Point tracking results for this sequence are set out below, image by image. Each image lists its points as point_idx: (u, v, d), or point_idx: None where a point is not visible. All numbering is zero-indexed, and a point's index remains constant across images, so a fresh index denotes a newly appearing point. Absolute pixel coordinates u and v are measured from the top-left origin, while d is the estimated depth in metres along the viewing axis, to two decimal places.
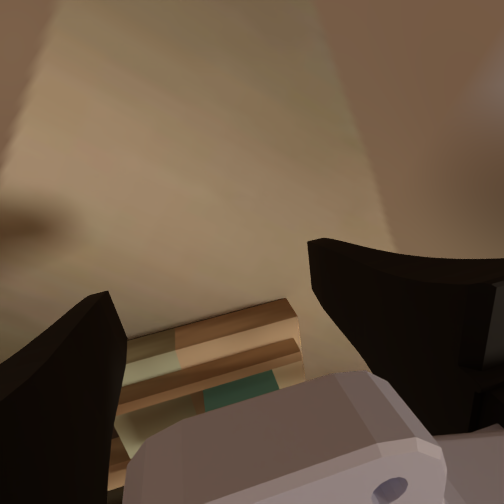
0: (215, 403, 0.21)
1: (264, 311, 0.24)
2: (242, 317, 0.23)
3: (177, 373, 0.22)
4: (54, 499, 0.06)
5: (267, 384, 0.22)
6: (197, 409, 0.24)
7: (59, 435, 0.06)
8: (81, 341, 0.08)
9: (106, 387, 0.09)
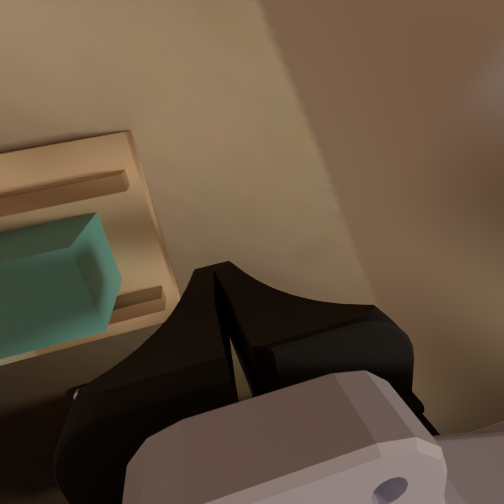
0: None
1: (89, 137, 0.17)
2: (56, 143, 0.17)
3: None
4: None
5: (75, 224, 0.15)
6: None
7: (233, 383, 0.07)
8: (217, 305, 0.09)
9: (229, 352, 0.10)
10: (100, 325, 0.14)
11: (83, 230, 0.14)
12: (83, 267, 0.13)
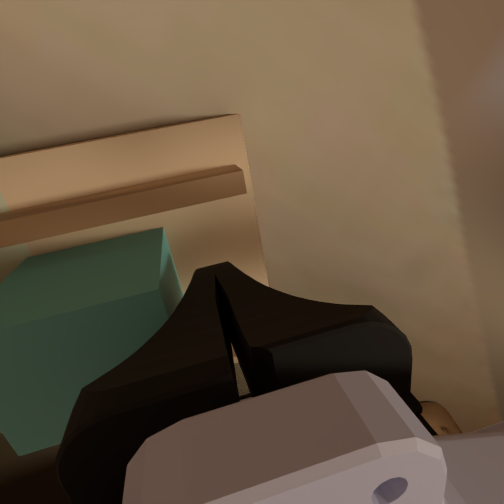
0: (26, 276, 0.10)
1: None
2: None
3: None
4: None
5: (143, 246, 0.11)
6: None
7: None
8: (218, 305, 0.09)
9: (230, 352, 0.10)
10: None
11: (161, 256, 0.10)
12: (170, 313, 0.09)
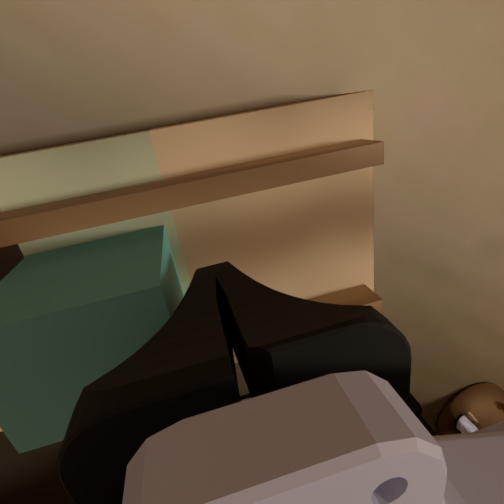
0: (26, 274, 0.10)
1: (309, 100, 0.14)
2: (271, 107, 0.13)
3: (153, 182, 0.12)
4: None
5: (143, 244, 0.11)
6: (192, 272, 0.14)
7: None
8: (219, 305, 0.09)
9: (230, 351, 0.10)
10: None
11: (162, 253, 0.10)
12: (171, 310, 0.09)
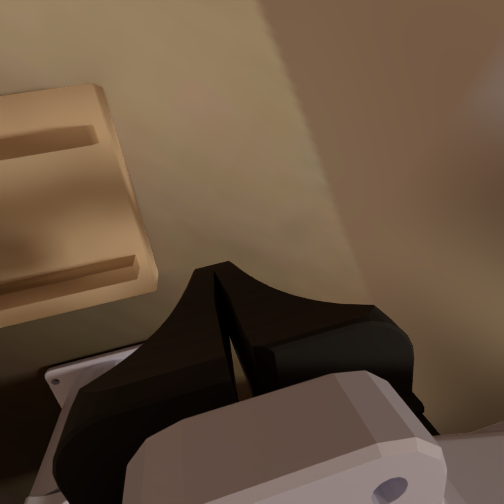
0: None
1: None
2: None
3: None
4: None
5: None
6: None
7: (233, 383, 0.07)
8: (217, 305, 0.09)
9: (229, 352, 0.10)
10: None
11: None
12: None
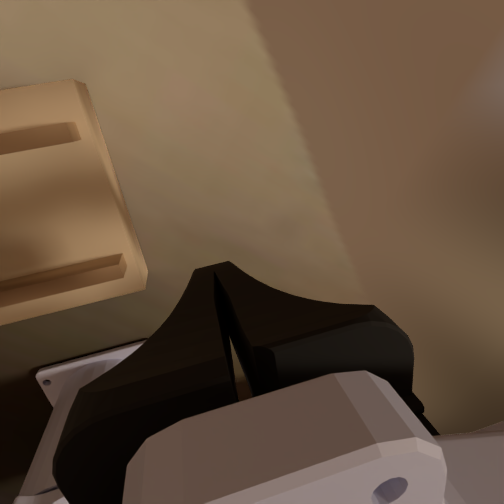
0: None
1: None
2: None
3: None
4: None
5: None
6: None
7: (233, 383, 0.07)
8: (216, 305, 0.09)
9: (228, 352, 0.10)
10: None
11: None
12: None
